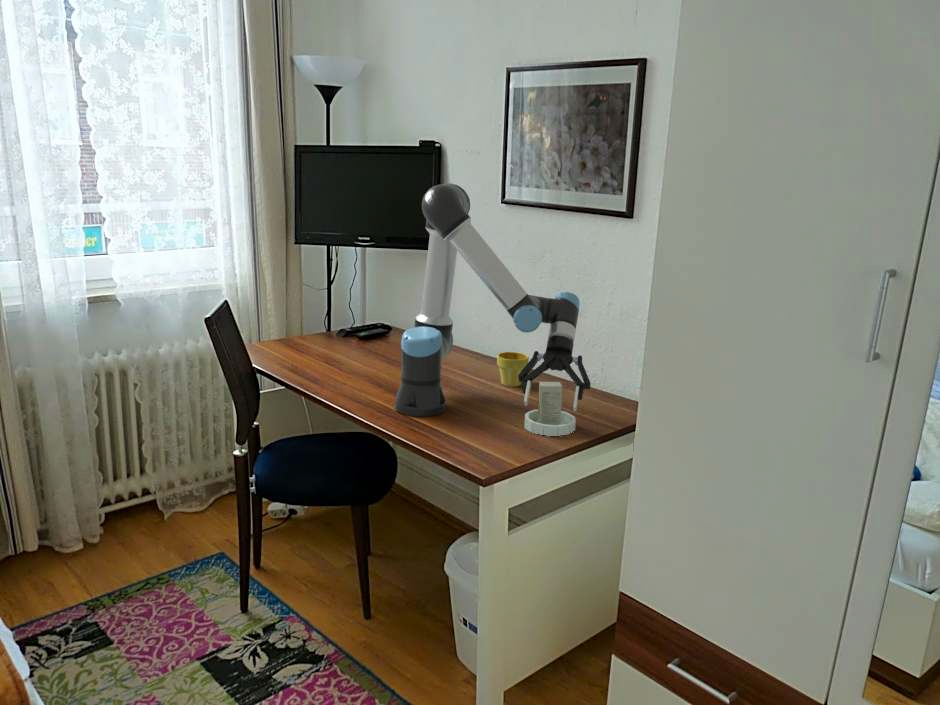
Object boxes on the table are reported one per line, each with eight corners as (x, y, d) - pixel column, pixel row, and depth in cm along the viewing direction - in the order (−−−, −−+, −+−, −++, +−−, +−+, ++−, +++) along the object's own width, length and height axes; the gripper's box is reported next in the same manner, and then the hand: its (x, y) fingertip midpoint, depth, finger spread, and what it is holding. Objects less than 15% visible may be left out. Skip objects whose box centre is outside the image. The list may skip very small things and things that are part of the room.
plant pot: (524, 389, 239) (526, 360, 237) (493, 386, 241) (494, 357, 239) (528, 381, 249) (530, 353, 247) (498, 378, 251) (500, 350, 249)
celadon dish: (540, 439, 197) (541, 428, 196) (515, 422, 209) (515, 412, 209) (584, 432, 203) (585, 422, 203) (557, 416, 215) (557, 406, 215)
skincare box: (558, 422, 209) (561, 381, 205) (560, 428, 204) (563, 386, 201) (536, 422, 208) (538, 380, 205) (537, 427, 204) (540, 385, 201)
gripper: (604, 352, 213) (595, 417, 203) (519, 343, 219) (506, 407, 208) (604, 338, 207) (595, 405, 196) (517, 330, 212) (504, 394, 202)
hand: (549, 406), depth 202 cm, fingers open, 13 cm apart
